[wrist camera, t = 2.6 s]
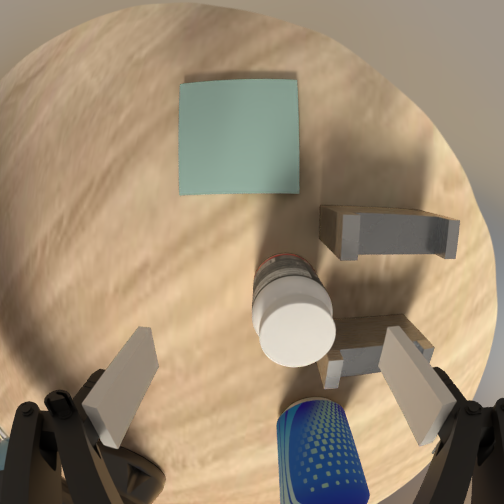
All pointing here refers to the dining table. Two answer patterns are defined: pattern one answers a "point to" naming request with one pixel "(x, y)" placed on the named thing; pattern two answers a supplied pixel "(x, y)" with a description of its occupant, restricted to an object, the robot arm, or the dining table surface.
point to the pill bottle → (292, 311)
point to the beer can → (318, 455)
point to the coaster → (239, 137)
